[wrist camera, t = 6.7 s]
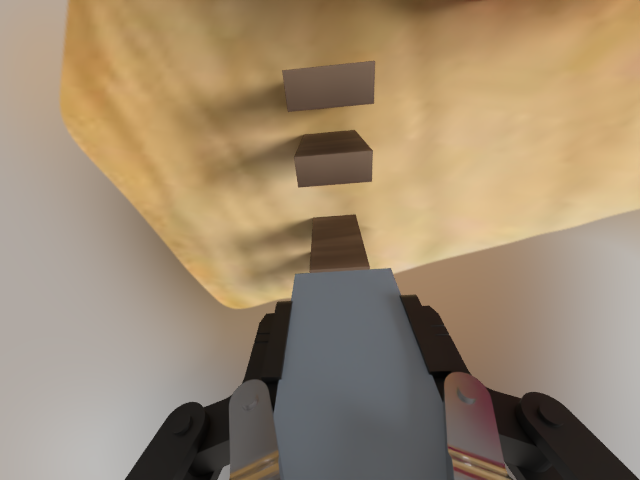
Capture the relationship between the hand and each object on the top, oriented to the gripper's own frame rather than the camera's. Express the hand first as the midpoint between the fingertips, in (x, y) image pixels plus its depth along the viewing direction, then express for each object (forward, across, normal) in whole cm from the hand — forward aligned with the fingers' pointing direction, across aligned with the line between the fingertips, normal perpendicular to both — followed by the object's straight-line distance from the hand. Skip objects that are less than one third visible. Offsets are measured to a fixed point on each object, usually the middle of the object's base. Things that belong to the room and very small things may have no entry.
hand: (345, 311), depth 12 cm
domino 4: (+2, 0, 0) cm, 2 cm away
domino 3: (+18, 0, +5) cm, 19 cm away
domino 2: (+18, 0, -5) cm, 19 cm away
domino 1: (+18, 0, -9) cm, 20 cm away
